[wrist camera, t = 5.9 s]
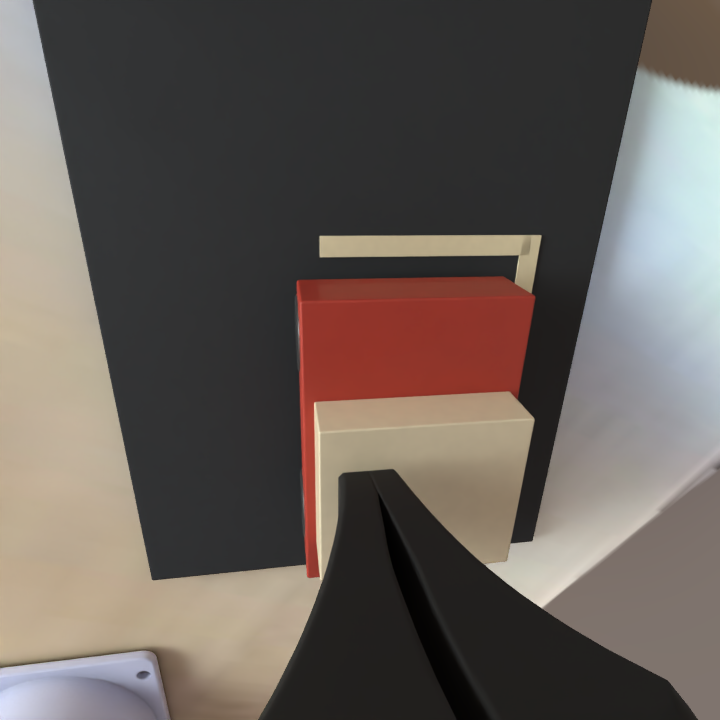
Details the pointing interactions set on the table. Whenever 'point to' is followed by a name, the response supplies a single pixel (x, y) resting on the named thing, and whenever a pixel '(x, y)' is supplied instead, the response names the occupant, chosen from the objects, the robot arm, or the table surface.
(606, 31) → the mat
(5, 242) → the table surface
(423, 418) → the toy car
